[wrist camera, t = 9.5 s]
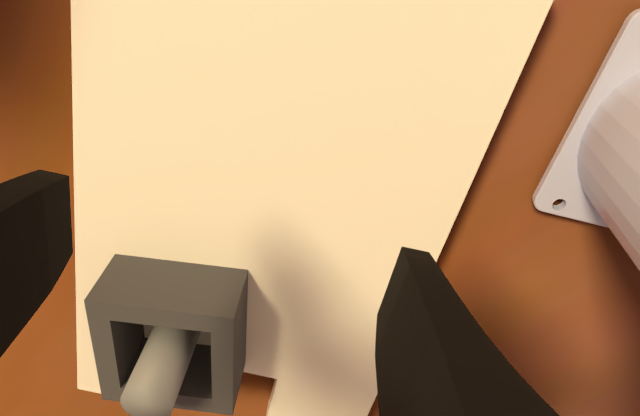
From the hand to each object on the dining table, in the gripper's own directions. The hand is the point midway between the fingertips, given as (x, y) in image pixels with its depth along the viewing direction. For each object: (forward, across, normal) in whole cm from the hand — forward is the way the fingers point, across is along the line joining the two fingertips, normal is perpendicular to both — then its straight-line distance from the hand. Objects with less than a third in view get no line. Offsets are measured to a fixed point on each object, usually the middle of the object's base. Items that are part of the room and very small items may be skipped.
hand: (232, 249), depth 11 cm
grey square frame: (+9, +3, +11) cm, 14 cm away
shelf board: (+10, 0, +6) cm, 12 cm away
